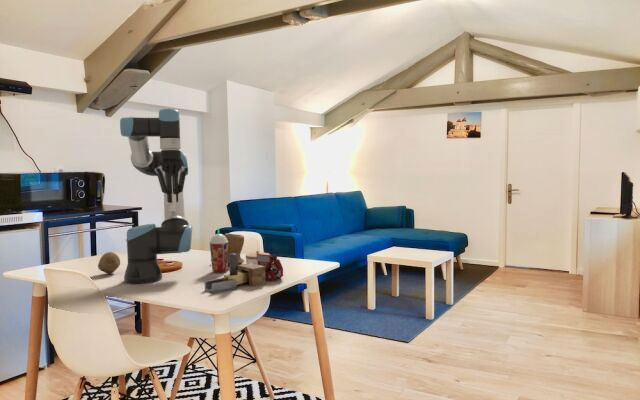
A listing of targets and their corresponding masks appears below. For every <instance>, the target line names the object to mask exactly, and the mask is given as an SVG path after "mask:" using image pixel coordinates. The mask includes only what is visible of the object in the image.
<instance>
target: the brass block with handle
mask: <svg viewBox="0 0 640 400" xmlns="http://www.w3.org/2000/svg"><path fill="white" fill-rule="evenodd" d="M238 265H239V264H238V256H237V253H232V254H229V264H228V266H229V273H228V274H224V275H223V278H224V281H228V280H233V279H236V283H237V285H238V284H239V285H240V284H245V283H249V271H243V272H238ZM244 282H245V283H244Z"/></svg>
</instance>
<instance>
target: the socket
mask: <svg viewBox="0 0 640 400" xmlns="http://www.w3.org/2000/svg"><path fill="white" fill-rule="evenodd" d="M243 271H249V282H248V286H250V287H257V286H262V285H263V286H264V285H266V281H267V279H266V277H265V266H261V265H256V264H252V263H240V264H238V272H243ZM245 283H246V282H244V283H243V284H245Z"/></svg>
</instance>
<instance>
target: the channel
mask: <svg viewBox="0 0 640 400" xmlns="http://www.w3.org/2000/svg"><path fill="white" fill-rule="evenodd" d="M237 285H238V284H237V283H236V279H233V280H228V281H224V277H219V278H215V279H209V280H205V281H204V291H206V292H208V293H211V294H219V293H222V292H227V291H232V290H237V289H238V287H237Z"/></svg>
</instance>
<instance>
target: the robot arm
mask: <svg viewBox="0 0 640 400" xmlns="http://www.w3.org/2000/svg"><path fill="white" fill-rule="evenodd" d="M180 120H181V118H180V112H179V110H178V109H173V108H161V109H160V110H159V111H158V117H137V116H136V117H135V116H133V117H132V116H129V117H127V116H126V117H121V119H120V121H119V129H120V130H119V131H120V135H121V136H122V137H124V138H125V137H126V138H128V143H129V146H130V151H131V155H130V162H131V164H132V166H133V167H134V168H135V169H136V170H137V171H139V172H140V173H142V174H144V175H146V176H149V177H157V179H158V183H159V187H160V190H161V192H162V193H163V210H164V212H163V213H164V215H163V216H164V217H163V218H164V220H163V221H161V225H160V226H159V227H158V226H157V225H156V224H155V223H150V224H149V223H148V224H142V225H137V226H133V227H129V228H128V229H127V230H126V239H125V240H126V241H125V242H126V248H127V249H126V250H127V254H126V255H127V266H126V269H125V272H124V277H123V281H124V283H125V282H126V283H125V284H128V283H130V284H131V285H140V284H142V285H143V284H149V283H155V282H159V281H160V280H162V279H163V273H162V269H161V267H160V265H159V263H158V255H168V254H182V253H188V252H190V250H191V247H192V236H193V226H192V225H190V224H189V222H188V220H187V219H186V217H185V216H186V215H185V202H184V200H185V199H184V187H185V181H186V176H188V175H189V167H188V159H187V156H186V153H185V152H183V151H181V150H180V149H181V144H182V143H181V127H180V126H181V125H180V123H181V121H180ZM149 137H150V138H151V137H158V138H159V149H160V151H150V144H149Z"/></svg>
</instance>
